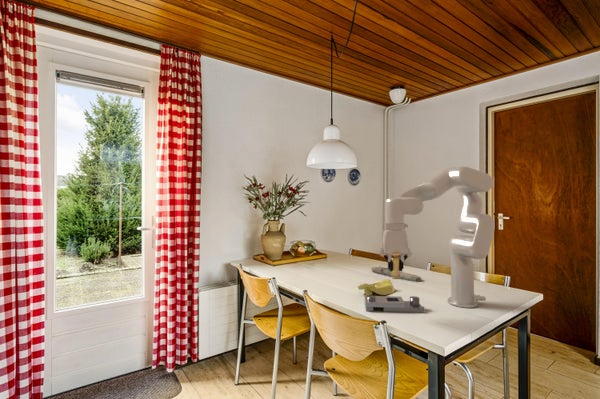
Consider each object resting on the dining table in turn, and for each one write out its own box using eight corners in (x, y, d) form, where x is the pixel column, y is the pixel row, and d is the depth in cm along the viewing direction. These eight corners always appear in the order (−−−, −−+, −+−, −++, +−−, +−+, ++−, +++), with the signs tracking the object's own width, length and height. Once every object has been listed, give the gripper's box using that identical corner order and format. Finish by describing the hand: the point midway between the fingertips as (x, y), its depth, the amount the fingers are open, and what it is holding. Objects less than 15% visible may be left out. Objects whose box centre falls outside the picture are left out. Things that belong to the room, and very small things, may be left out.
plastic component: (376, 283, 178) (391, 278, 171) (381, 296, 175) (396, 292, 169) (353, 287, 165) (368, 282, 158) (358, 302, 162) (373, 297, 156)
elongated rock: (415, 286, 185) (424, 283, 191) (415, 276, 185) (425, 275, 191) (367, 271, 212) (376, 270, 218) (367, 263, 212) (377, 262, 218)
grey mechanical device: (417, 305, 148) (417, 294, 148) (423, 312, 139) (423, 301, 139) (364, 304, 150) (364, 293, 150) (366, 311, 141) (366, 300, 141)
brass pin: (401, 276, 139) (400, 250, 139) (404, 279, 133) (403, 253, 133) (387, 276, 139) (387, 250, 139) (390, 279, 134) (389, 253, 134)
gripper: (412, 226, 139) (413, 268, 139) (373, 226, 141) (374, 268, 141) (417, 228, 132) (418, 272, 132) (376, 228, 133) (377, 272, 133)
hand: (395, 270), depth 136 cm, fingers closed on brass pin, 3 cm apart
